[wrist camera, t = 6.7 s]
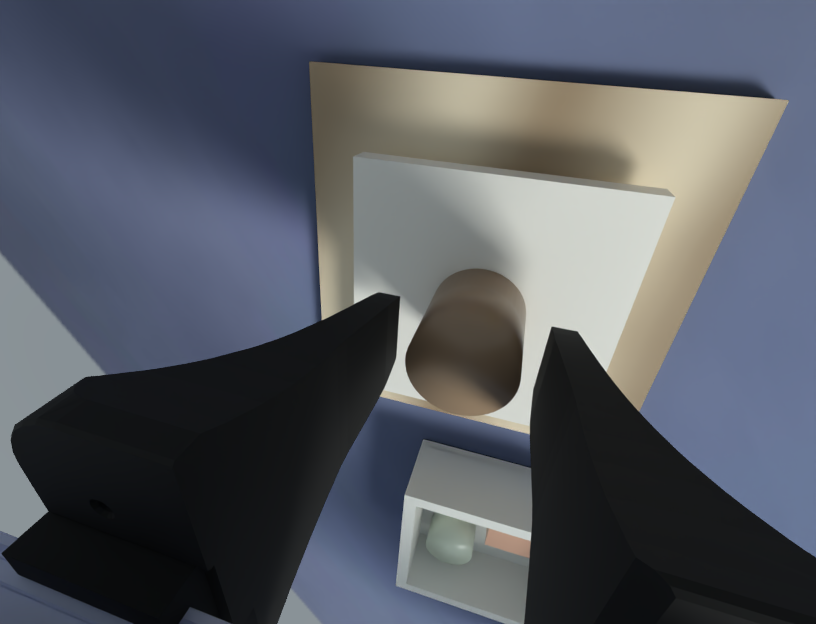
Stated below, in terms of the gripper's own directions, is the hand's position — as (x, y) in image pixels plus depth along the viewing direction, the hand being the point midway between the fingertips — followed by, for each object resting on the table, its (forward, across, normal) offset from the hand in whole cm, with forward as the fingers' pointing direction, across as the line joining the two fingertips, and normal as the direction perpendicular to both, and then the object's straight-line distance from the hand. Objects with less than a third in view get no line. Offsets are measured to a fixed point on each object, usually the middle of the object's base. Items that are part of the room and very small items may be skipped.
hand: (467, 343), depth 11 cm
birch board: (+4, 0, 0) cm, 4 cm away
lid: (+3, 0, 0) cm, 3 cm away
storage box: (+4, -2, +12) cm, 13 cm away
